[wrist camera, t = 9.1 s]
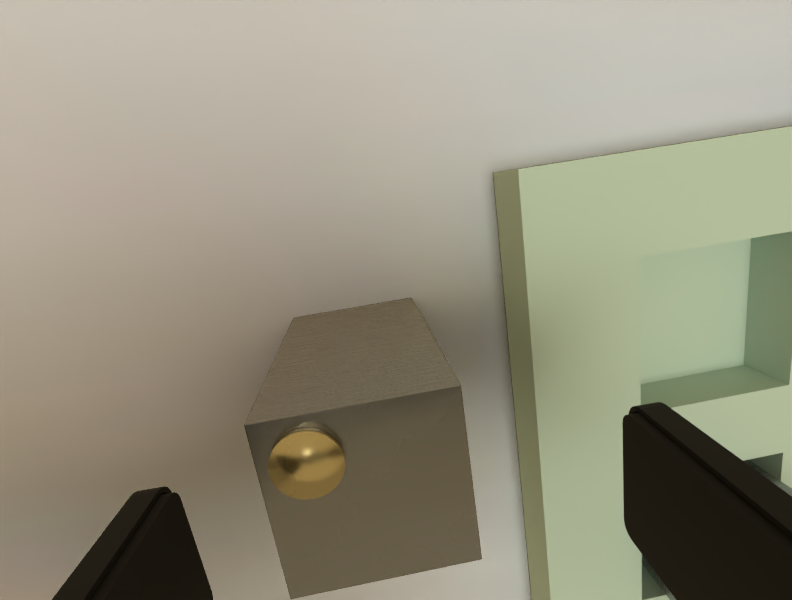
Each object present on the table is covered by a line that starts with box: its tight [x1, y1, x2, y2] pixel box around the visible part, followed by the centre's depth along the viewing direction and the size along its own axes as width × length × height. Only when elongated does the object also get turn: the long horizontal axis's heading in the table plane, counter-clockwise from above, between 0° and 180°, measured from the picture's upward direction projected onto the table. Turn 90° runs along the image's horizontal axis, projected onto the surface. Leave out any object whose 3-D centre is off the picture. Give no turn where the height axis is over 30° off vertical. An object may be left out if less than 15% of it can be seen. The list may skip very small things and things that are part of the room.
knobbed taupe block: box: [244, 298, 482, 599], centre depth 13 cm, size 5×5×8 cm
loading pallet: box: [493, 126, 792, 600], centre depth 18 cm, size 29×14×5 cm, turn 8°
